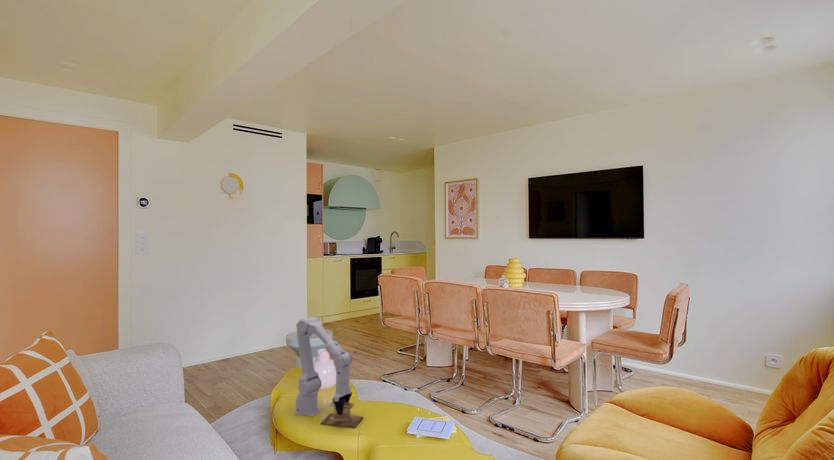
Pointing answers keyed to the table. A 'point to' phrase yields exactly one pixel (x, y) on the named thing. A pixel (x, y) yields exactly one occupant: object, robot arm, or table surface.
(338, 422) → the walnut board
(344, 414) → the oak stool
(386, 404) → the table surface
